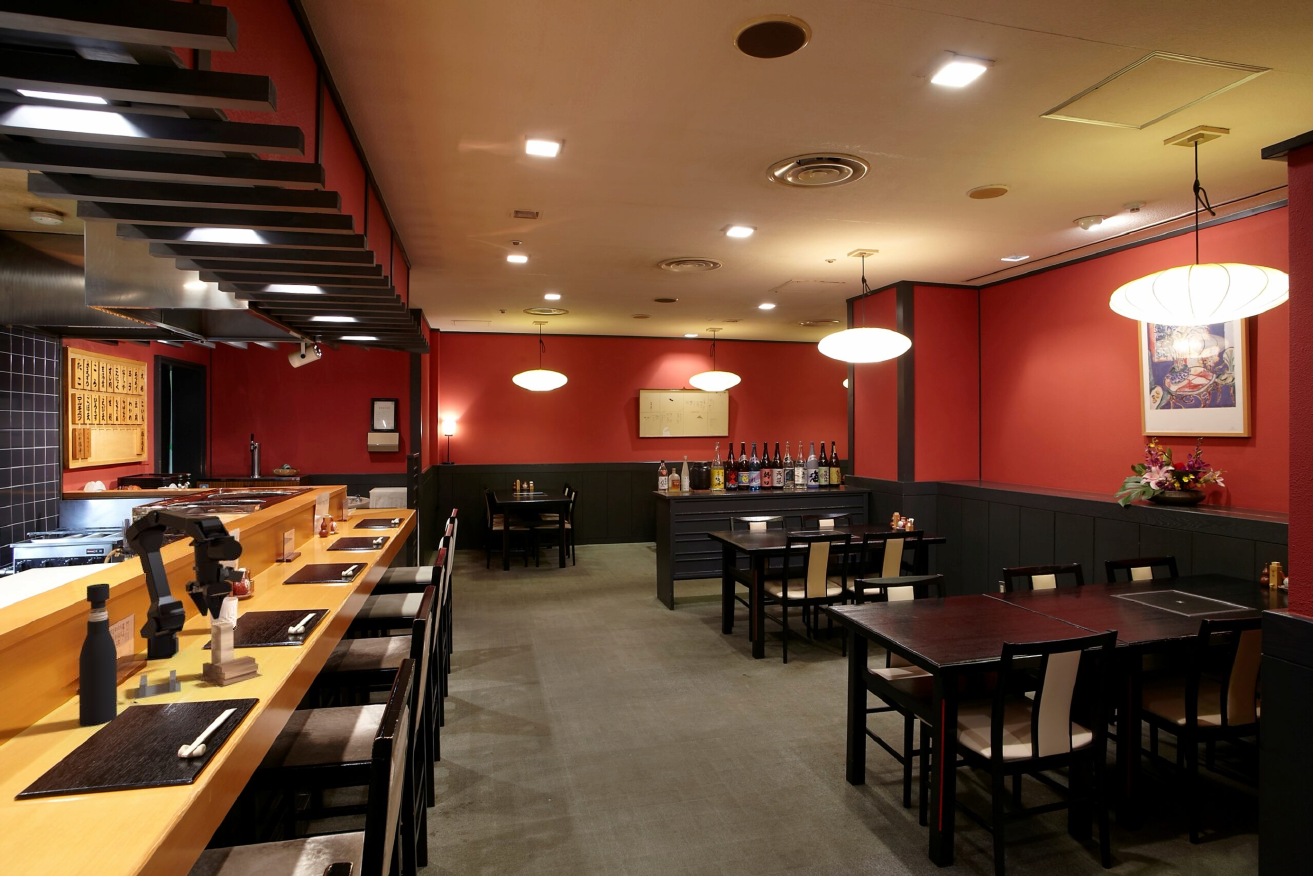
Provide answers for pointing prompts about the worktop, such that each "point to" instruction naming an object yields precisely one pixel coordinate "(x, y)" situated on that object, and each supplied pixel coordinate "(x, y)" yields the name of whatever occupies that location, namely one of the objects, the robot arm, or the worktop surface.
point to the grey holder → (157, 687)
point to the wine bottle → (97, 664)
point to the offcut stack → (235, 670)
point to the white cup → (227, 611)
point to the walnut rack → (210, 675)
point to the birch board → (221, 642)
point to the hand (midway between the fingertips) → (210, 617)
